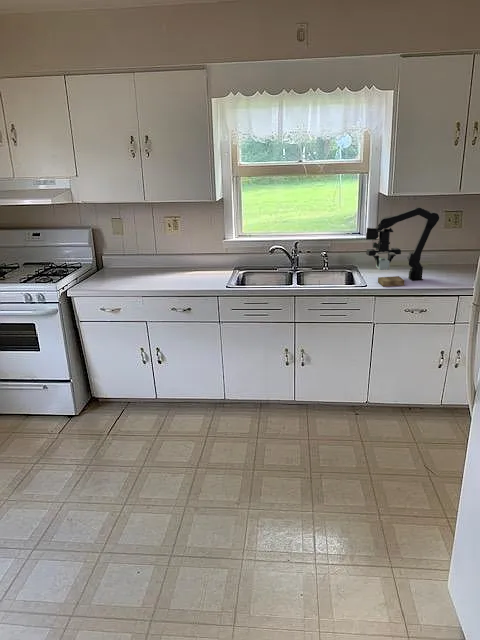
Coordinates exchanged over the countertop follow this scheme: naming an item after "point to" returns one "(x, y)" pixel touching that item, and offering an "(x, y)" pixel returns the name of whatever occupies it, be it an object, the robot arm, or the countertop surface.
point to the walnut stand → (391, 281)
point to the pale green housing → (383, 264)
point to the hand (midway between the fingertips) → (382, 266)
